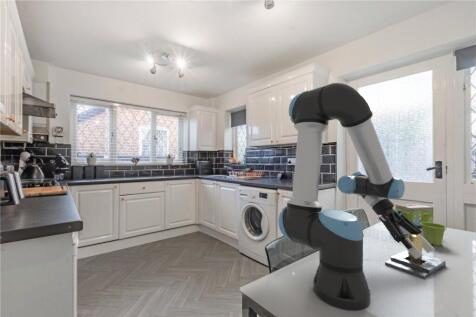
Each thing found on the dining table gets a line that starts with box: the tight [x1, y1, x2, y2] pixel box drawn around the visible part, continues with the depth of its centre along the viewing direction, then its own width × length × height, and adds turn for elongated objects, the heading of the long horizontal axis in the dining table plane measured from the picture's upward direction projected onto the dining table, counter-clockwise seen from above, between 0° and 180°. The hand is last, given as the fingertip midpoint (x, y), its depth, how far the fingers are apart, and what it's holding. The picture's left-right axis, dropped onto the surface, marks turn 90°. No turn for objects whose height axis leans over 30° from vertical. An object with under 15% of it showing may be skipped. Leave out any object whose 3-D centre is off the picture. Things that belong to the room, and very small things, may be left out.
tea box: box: [394, 203, 435, 236], centre depth 122 cm, size 15×10×15 cm, turn 105°
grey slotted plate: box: [390, 249, 447, 273], centre depth 84 cm, size 14×12×2 cm
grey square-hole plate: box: [384, 259, 442, 280], centre depth 82 cm, size 14×12×1 cm
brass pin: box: [407, 234, 423, 265], centre depth 83 cm, size 4×4×11 cm
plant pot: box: [420, 222, 447, 246], centre depth 106 cm, size 9×9×9 cm
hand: (425, 254), depth 81 cm, fingers open, 9 cm apart
